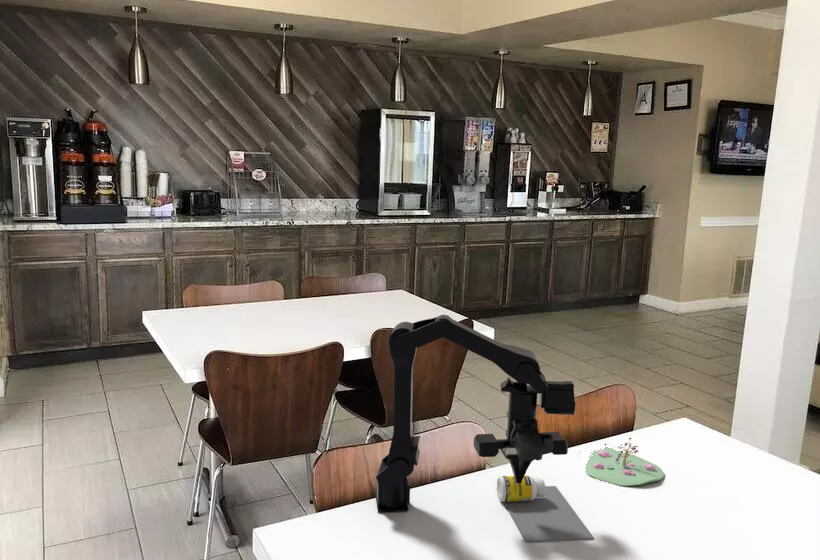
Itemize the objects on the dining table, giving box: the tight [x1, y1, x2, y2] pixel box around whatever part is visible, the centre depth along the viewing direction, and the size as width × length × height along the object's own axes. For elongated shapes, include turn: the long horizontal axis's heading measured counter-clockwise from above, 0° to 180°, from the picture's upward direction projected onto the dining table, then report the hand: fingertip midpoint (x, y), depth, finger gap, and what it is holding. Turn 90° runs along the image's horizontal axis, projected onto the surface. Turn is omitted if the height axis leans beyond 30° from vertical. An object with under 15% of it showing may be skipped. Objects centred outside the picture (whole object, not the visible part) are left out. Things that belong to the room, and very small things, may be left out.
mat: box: [496, 485, 595, 543], centre depth 141 cm, size 14×22×1 cm, turn 7°
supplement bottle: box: [496, 474, 546, 503], centre depth 145 cm, size 5×5×10 cm
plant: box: [584, 437, 665, 487], centre depth 165 cm, size 25×21×9 cm
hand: (518, 482), depth 139 cm, fingers closed
